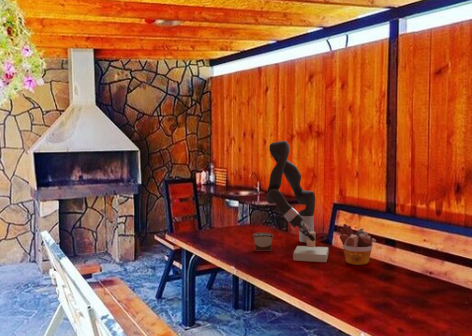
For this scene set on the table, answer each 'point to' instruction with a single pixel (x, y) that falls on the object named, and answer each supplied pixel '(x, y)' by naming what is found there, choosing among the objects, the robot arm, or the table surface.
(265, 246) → the food container
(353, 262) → the bucket of meat
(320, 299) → the table surface
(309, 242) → the birch block
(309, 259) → the base board
